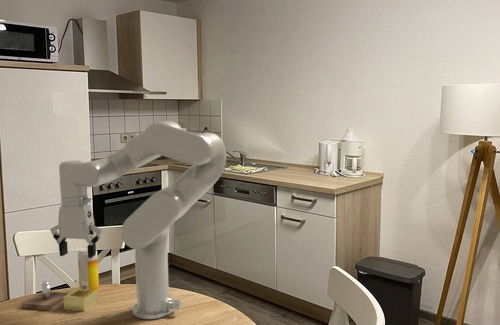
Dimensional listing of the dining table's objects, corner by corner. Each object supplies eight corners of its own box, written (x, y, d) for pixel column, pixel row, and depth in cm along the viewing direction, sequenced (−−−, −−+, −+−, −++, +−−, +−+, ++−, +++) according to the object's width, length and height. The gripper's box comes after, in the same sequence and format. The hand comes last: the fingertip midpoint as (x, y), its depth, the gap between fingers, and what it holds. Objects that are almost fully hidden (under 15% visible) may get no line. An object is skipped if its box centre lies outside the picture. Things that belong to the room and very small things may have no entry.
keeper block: (70, 297, 155) (69, 276, 154) (51, 310, 145) (49, 288, 144) (43, 295, 157) (42, 274, 156) (22, 307, 147) (21, 286, 146)
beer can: (102, 289, 161) (99, 246, 159) (94, 296, 155) (92, 252, 153) (85, 289, 162) (82, 246, 160) (76, 296, 156) (74, 251, 154)
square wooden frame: (96, 302, 151) (96, 290, 150) (84, 311, 144) (83, 298, 143) (77, 300, 152) (76, 288, 152) (64, 309, 146) (63, 297, 145)
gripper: (106, 199, 146) (109, 253, 148) (56, 198, 150) (60, 250, 152) (93, 204, 139) (96, 261, 141) (41, 203, 143) (45, 258, 145)
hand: (77, 255), depth 146 cm, fingers open, 9 cm apart
